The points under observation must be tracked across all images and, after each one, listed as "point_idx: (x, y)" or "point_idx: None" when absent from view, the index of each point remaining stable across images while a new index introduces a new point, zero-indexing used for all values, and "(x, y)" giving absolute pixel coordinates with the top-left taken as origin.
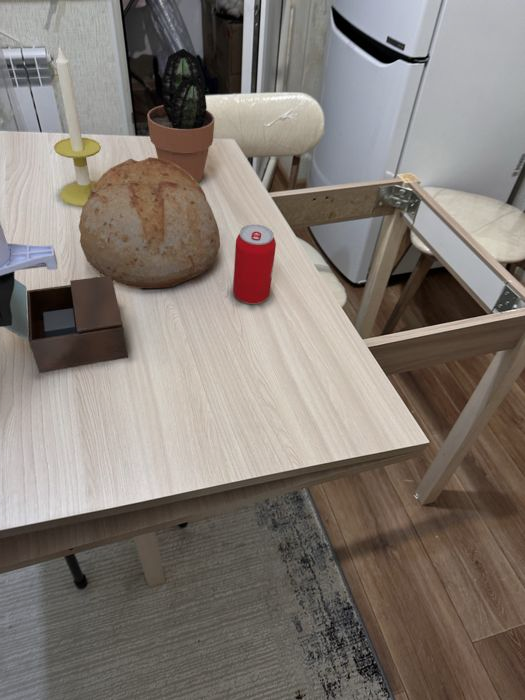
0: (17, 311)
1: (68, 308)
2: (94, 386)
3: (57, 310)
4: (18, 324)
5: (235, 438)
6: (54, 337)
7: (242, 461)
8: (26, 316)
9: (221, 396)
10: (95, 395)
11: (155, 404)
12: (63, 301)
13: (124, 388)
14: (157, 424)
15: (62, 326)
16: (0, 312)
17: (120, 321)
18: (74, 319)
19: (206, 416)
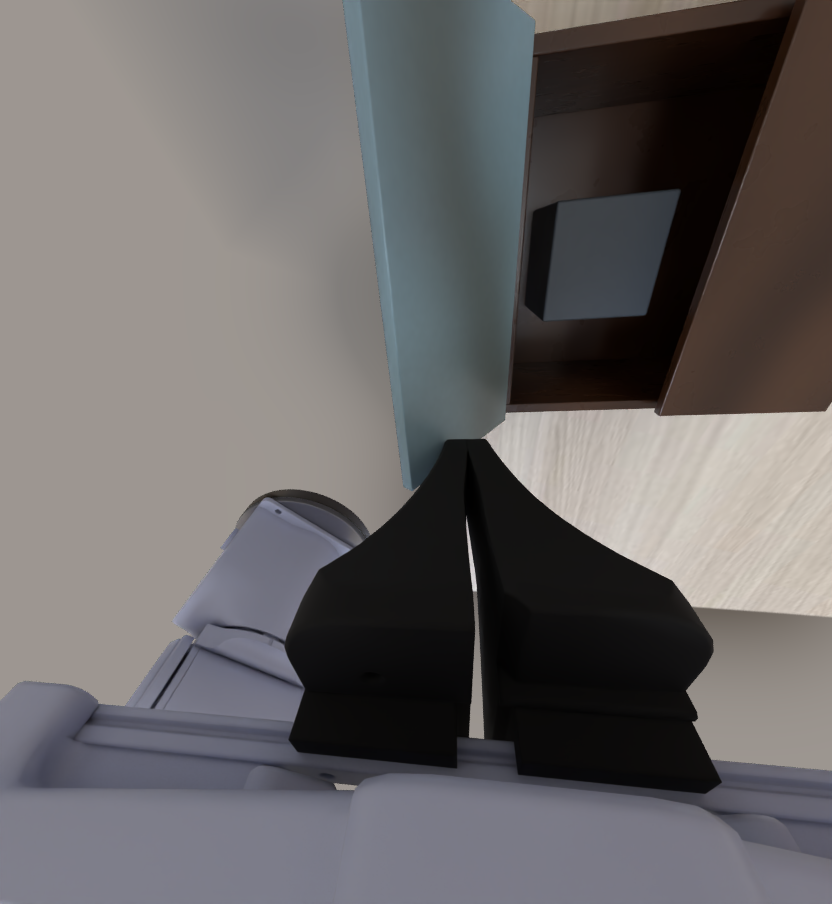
0: (490, 326)
1: (645, 89)
2: (593, 428)
3: (615, 198)
4: (488, 396)
5: (769, 570)
6: (575, 406)
7: (746, 596)
8: (511, 317)
9: (824, 503)
10: (587, 450)
11: (687, 491)
12: (653, 73)
13: (650, 446)
14: (666, 525)
15: (605, 308)
16: (465, 517)
17: (826, 402)
18: (657, 270)
19: (758, 531)
